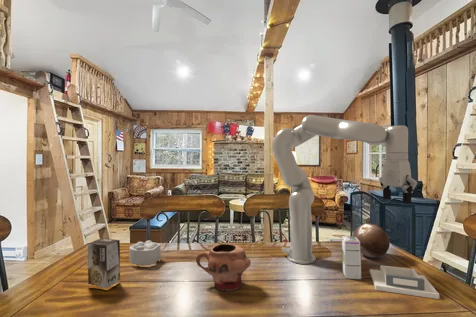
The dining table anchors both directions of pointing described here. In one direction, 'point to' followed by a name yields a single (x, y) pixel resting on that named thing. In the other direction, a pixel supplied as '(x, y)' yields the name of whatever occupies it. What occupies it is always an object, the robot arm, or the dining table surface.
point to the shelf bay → (402, 282)
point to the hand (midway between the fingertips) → (396, 201)
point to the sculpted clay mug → (225, 265)
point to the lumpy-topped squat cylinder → (144, 253)
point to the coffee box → (104, 262)
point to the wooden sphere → (372, 240)
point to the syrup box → (351, 257)
